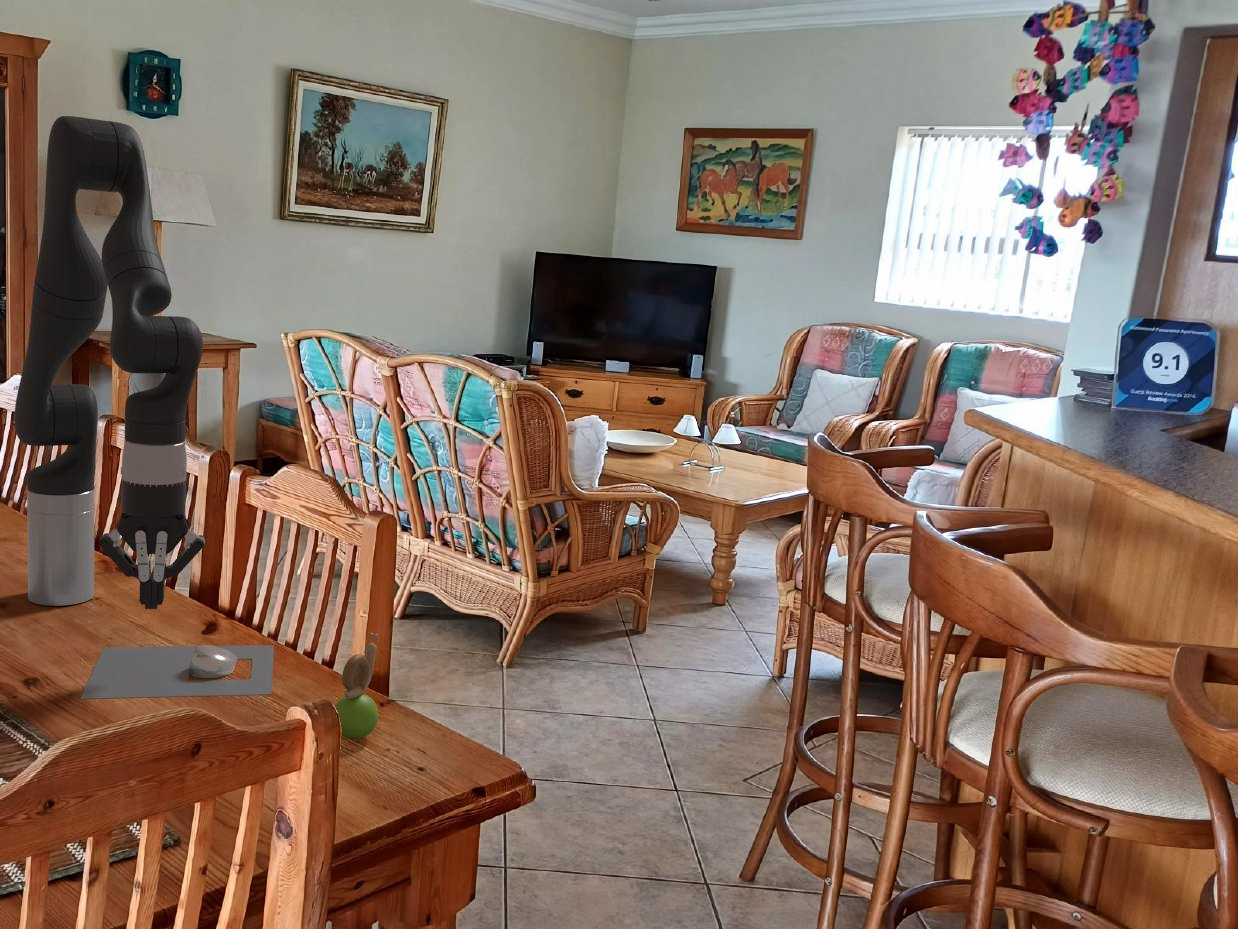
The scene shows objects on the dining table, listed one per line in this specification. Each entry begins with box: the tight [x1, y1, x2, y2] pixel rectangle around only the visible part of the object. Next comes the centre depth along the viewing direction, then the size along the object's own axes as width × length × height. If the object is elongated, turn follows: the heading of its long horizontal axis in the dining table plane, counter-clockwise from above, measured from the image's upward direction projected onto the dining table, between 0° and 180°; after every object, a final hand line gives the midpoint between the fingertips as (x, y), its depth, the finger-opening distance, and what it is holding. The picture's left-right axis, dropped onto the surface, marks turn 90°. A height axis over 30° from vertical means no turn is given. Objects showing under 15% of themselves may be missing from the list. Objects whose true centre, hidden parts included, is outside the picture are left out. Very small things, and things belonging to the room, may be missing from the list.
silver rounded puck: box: [188, 644, 238, 679], centre depth 150 cm, size 6×6×3 cm
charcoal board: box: [79, 644, 275, 700], centre depth 149 cm, size 22×18×2 cm
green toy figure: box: [334, 632, 380, 740], centre depth 136 cm, size 5×6×12 cm
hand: (151, 607), depth 147 cm, fingers closed
